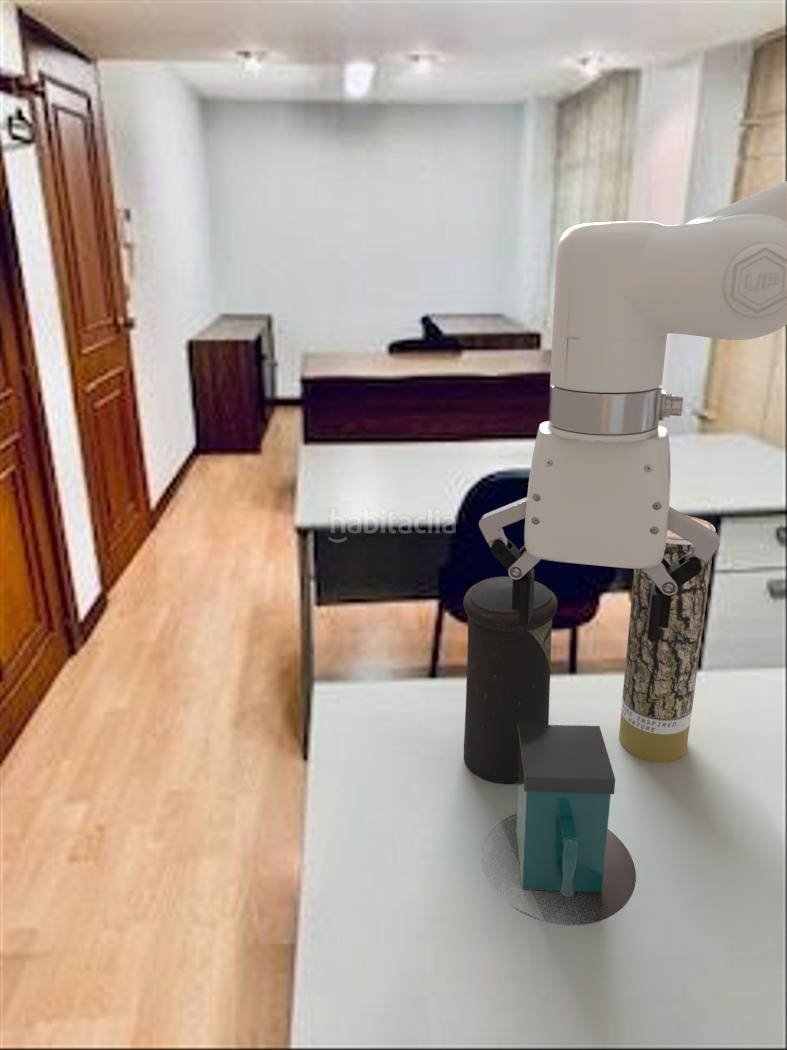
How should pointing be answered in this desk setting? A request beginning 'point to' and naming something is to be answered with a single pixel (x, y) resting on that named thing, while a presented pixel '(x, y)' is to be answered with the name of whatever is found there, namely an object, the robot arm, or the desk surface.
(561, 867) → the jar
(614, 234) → the robot arm
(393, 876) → the desk surface
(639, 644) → the paper tube
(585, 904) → the turntable
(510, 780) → the container
